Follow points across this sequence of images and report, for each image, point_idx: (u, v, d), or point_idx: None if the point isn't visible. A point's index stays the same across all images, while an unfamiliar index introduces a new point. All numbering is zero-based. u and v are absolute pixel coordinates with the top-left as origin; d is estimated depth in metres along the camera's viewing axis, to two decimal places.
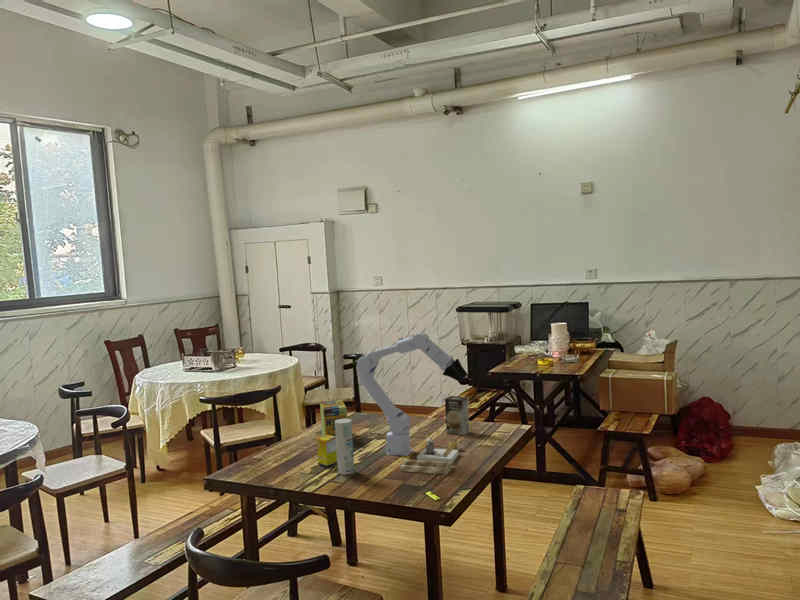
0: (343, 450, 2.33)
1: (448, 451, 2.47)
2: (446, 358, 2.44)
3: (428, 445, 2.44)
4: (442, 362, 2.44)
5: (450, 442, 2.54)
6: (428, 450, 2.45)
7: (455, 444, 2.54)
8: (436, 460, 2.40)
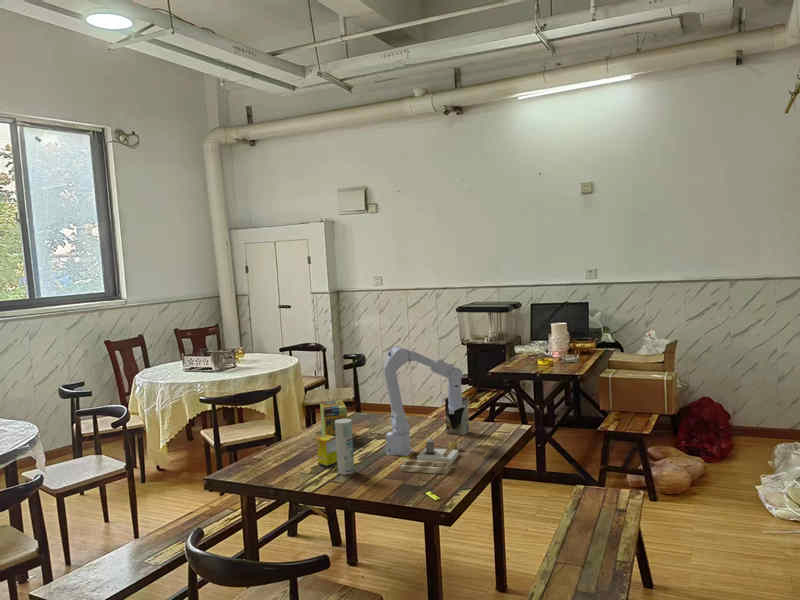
0: (343, 450, 2.33)
1: (448, 451, 2.47)
2: (459, 404, 2.57)
3: (428, 445, 2.44)
4: (453, 404, 2.57)
5: (450, 442, 2.54)
6: (428, 450, 2.45)
7: (455, 444, 2.54)
8: (436, 460, 2.40)
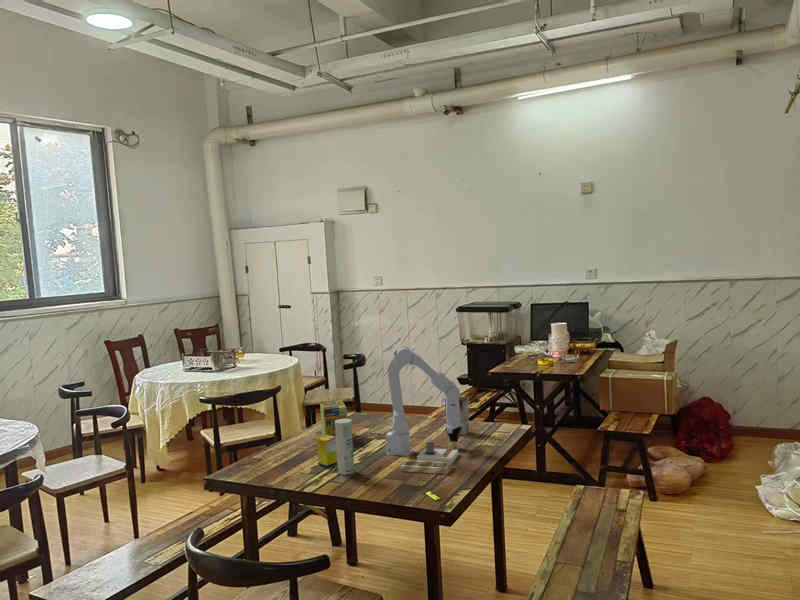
0: (343, 450, 2.33)
1: (448, 451, 2.47)
2: (457, 423, 2.53)
3: (428, 445, 2.44)
4: (451, 423, 2.53)
5: (450, 442, 2.54)
6: (428, 450, 2.45)
7: (455, 444, 2.53)
8: (436, 460, 2.40)
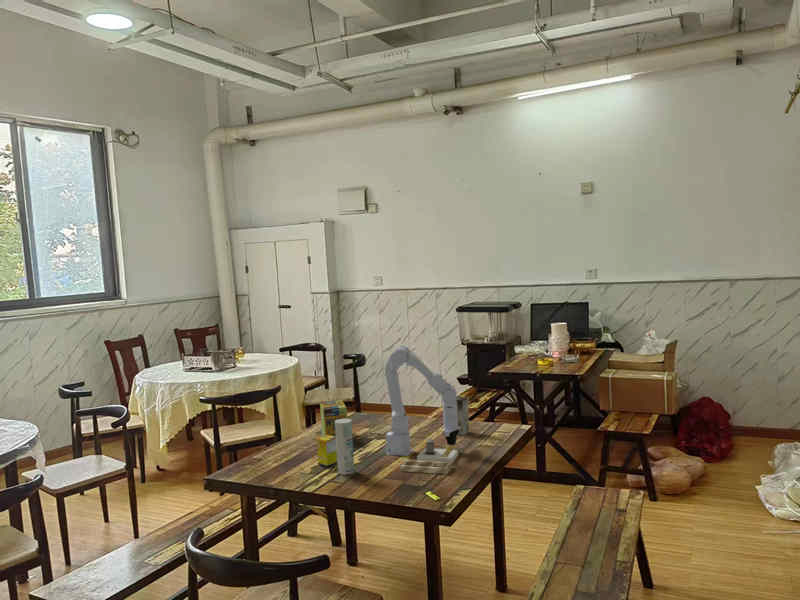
0: (343, 450, 2.33)
1: (445, 455, 2.43)
2: (454, 426, 2.49)
3: (428, 445, 2.44)
4: (449, 426, 2.49)
5: (447, 446, 2.50)
6: (428, 450, 2.45)
7: (452, 448, 2.49)
8: (436, 460, 2.40)
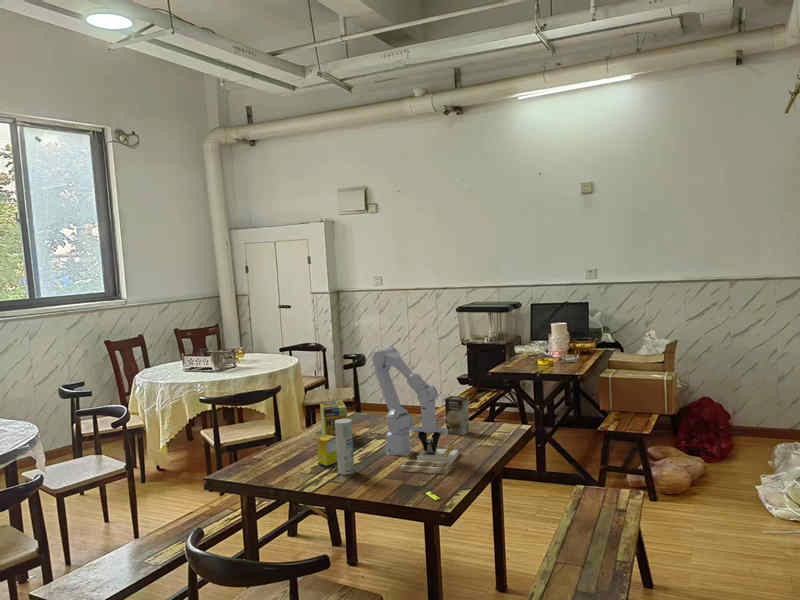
0: (343, 450, 2.33)
1: (445, 455, 2.42)
2: (422, 427, 2.44)
3: (428, 445, 2.44)
4: None
5: (447, 446, 2.50)
6: (428, 450, 2.45)
7: (452, 448, 2.49)
8: (436, 460, 2.40)
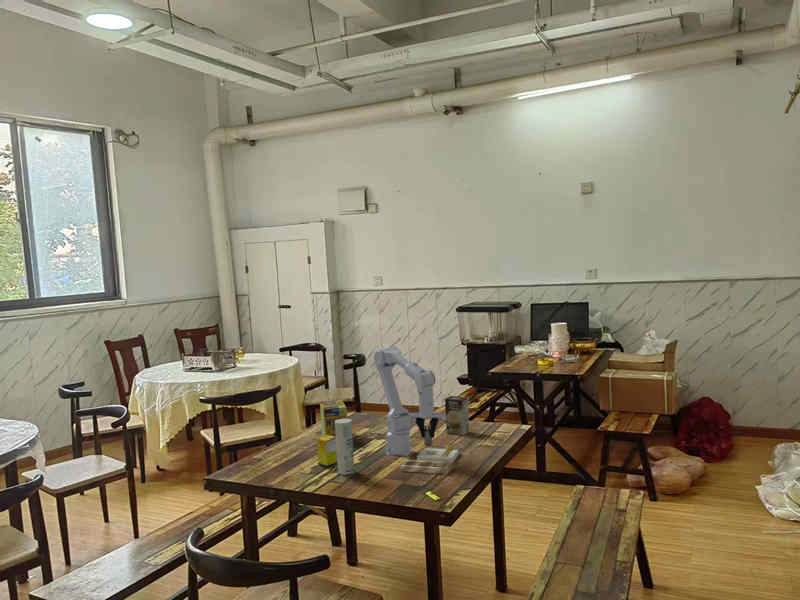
0: (343, 450, 2.33)
1: (445, 455, 2.42)
2: (420, 413, 2.39)
3: (426, 432, 2.39)
4: None
5: (447, 446, 2.50)
6: (426, 437, 2.39)
7: (452, 448, 2.49)
8: (436, 460, 2.40)
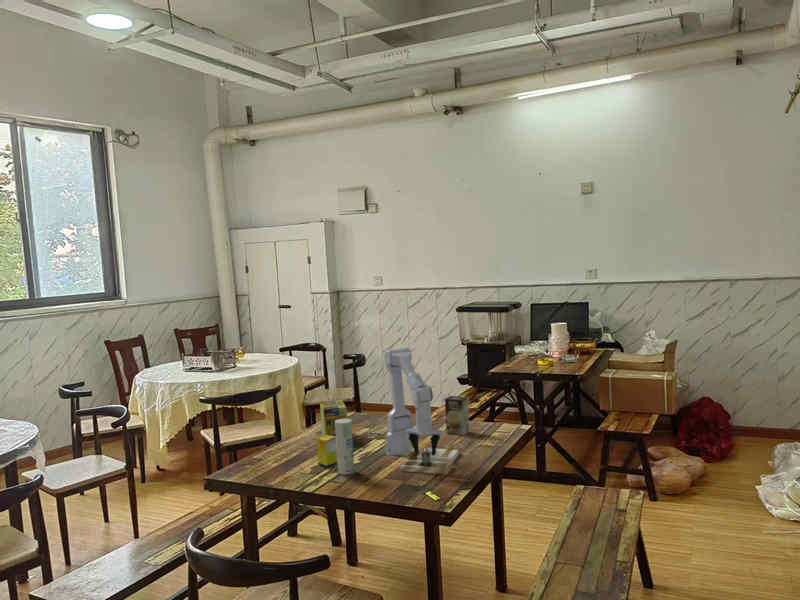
0: (343, 450, 2.33)
1: (445, 455, 2.42)
2: (417, 429, 2.31)
3: (424, 455, 2.32)
4: None
5: (447, 446, 2.50)
6: (424, 460, 2.32)
7: (452, 448, 2.49)
8: (436, 460, 2.40)
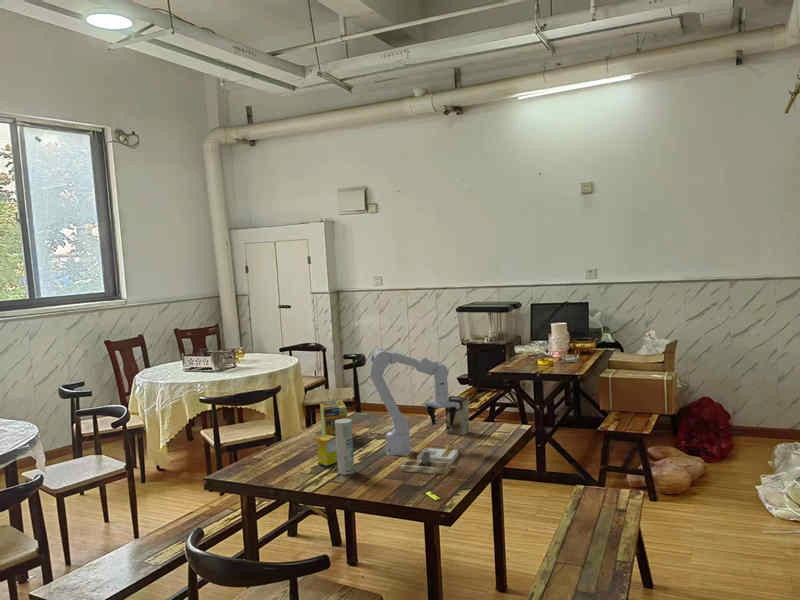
0: (343, 450, 2.33)
1: (445, 455, 2.42)
2: (435, 402, 2.55)
3: (424, 456, 2.32)
4: None
5: (447, 446, 2.50)
6: (424, 461, 2.32)
7: (452, 448, 2.49)
8: (436, 460, 2.40)
